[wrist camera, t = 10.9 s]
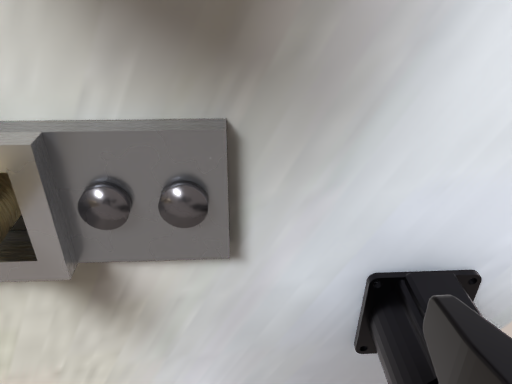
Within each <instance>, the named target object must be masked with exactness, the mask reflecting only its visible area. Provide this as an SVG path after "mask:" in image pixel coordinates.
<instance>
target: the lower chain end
mask: <svg viewBox="0 0 512 384" xmlns="http://www.w3.org/2000/svg"><path fill="white" fill-rule="evenodd" d="M3 132H42V134H43V137H44V141H45V145H46V148H47V152H48V156H49V159H50V163H51V167H52V170H53V174H54V177H55V181H56V185H57V188H58V192H59V196H60V199H61V203H62V206H63V210H64V214H65V217H66V221H67V225H68V228H69V232H70V235H71V239H72V243H73V246H74V250H75V254H76V257H77V261H78V263H88V262H122V261H155V260H189V259H223V258H230V240H229V203H228V167H227V131H226V119H164V120H76V121H0V133H3ZM8 245H32V243H31V240H30V237H29V234H28V231H27V230H12V231H9V232H8V234H7V235H6V237H5V238H4V239H3V241H2V242H1V243H0V246H8Z"/></svg>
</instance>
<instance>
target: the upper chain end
mask: <svg viewBox="0 0 512 384" xmlns="http://www.w3.org/2000/svg"><path fill="white" fill-rule="evenodd" d="M0 173H8V176H9V179H10V181H11V184H12V187H13V190H14V193H15V196H16V199H17V202H18V205H19V208H20V211H21V214H22V217H23V220H24V223H25V225H26V228H27V231H28V234H29V237H30V240H31V243H32V245H8V246H0V282H16V281H48V280H71V277H72V275H73V273H74V271H75V268H76V266H77V264H78V261H77V257H76V254H75V250H74V246H73V243H72V239H71V235H70V232H69V228H68V225H67V221H66V217H65V214H64V210H63V206H62V203H61V199H60V196H59V192H58V188H57V185H56V181H55V177H54V174H53V170H52V167H51V163H50V159H49V156H48V152H47V148H46V145H45V141H44V137H43V134H42V132H3V133H0Z"/></svg>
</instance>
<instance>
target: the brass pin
mask: <svg viewBox="0 0 512 384" xmlns="http://www.w3.org/2000/svg"><path fill="white" fill-rule="evenodd" d="M21 215H22V214H21V211H20V208H19V205H18V202H17V199H16V196H15V193H14V190H13V187H12V184H11V181H10V179H9V176H8V173H0V243H1V242H2V241H3V239H4V238H5V237H6V235H7V234H8V232H9V231H10V230H11V228H12V227H13V226H14V224H15V223H16V221H17V220H18V219H19V217H20V216H21Z"/></svg>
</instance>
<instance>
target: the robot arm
mask: <svg viewBox="0 0 512 384" xmlns="http://www.w3.org/2000/svg"><path fill="white" fill-rule="evenodd" d="M471 278H472V279H471ZM377 281H378V282H377ZM375 282H377V283H375ZM480 283H481V277H480V275H479V274H478V272H477V271H475V270H453V271H422V272H391V273H374V274H372V275H370V276H369V277H368V279H367V282H366V287H365V292H364V297H363V302H362V307H361V312H360V317H359V322H358V327H357V332H356V337H355V342H354V346H355V350H356V352H357V353H359V354H370V353H377V354H378V356H379V359H380V362H381V365H382V368H383V370H384V373H385V376H386V379H387V382H388V384H512V338H511V337H509V336H508V335H506V334H505V333H504V332H502V331H501V330H500V329H498V328H497V327H496V326H494V325H493V324H492V323H490V322H489V321H487V320H486V319H485V318H483V316H482V315H481V313H480V312H479V310H478V309H477V307H476V306H475V304H474V303H473V300H474V298H475V295H476V293H477V290H478V288H479V285H480Z"/></svg>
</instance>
